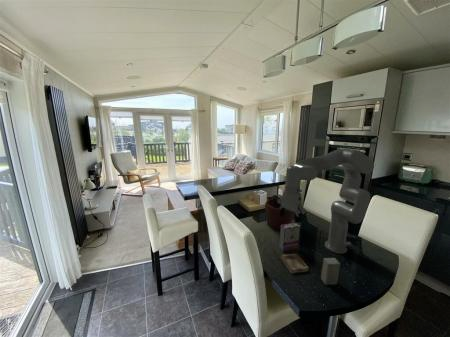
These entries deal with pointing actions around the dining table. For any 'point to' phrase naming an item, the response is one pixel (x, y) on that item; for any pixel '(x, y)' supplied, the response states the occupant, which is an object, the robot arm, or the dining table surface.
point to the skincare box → (330, 271)
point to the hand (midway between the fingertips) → (289, 218)
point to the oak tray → (294, 263)
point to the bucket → (277, 214)
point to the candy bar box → (289, 237)
